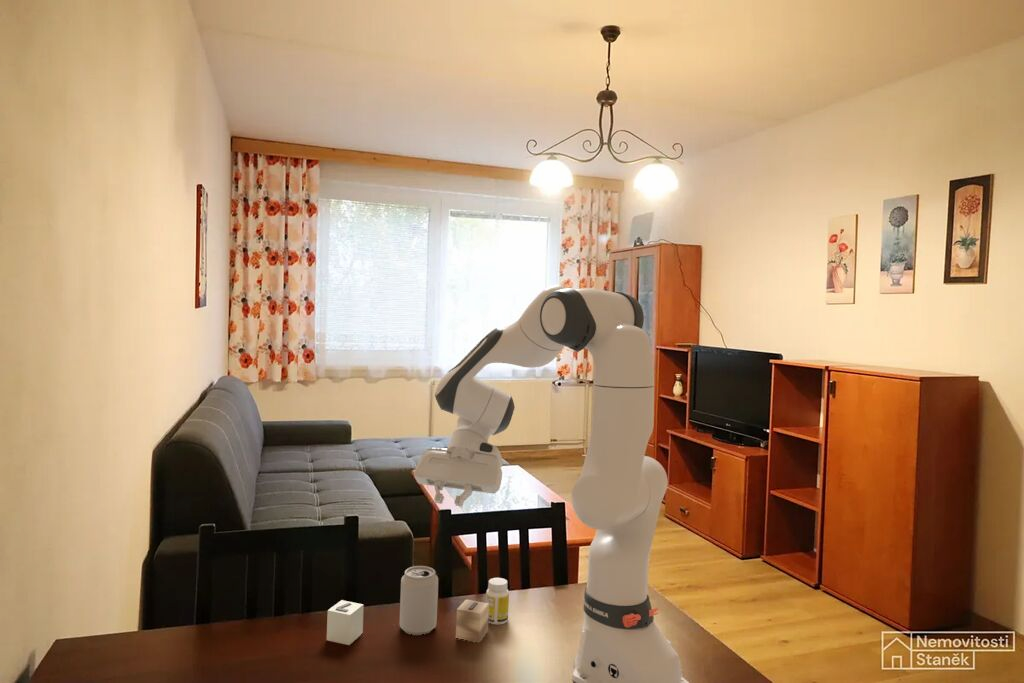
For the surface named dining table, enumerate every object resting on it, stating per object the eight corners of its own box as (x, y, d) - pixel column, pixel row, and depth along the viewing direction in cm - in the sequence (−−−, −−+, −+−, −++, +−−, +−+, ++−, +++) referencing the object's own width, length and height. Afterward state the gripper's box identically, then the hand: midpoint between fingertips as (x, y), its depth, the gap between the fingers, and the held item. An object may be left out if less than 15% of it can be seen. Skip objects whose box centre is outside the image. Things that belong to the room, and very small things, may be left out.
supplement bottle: (509, 616, 146) (510, 577, 145) (506, 626, 141) (508, 586, 141) (486, 614, 146) (488, 575, 146) (483, 624, 141) (485, 584, 141)
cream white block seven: (362, 633, 135) (363, 603, 135) (349, 645, 130) (350, 613, 130) (340, 629, 137) (341, 599, 136) (326, 640, 132) (327, 609, 132)
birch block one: (487, 632, 138) (489, 602, 138) (479, 643, 133) (480, 612, 133) (464, 627, 140) (466, 598, 139) (455, 638, 135) (456, 608, 135)
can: (437, 636, 135) (439, 577, 135) (399, 637, 134) (401, 578, 134) (435, 619, 143) (437, 563, 142) (399, 620, 141) (401, 564, 141)
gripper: (421, 439, 160) (401, 490, 151) (504, 448, 153) (487, 502, 144) (429, 454, 164) (409, 504, 155) (509, 463, 158) (493, 516, 149)
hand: (447, 503), depth 150 cm, fingers open, 3 cm apart
